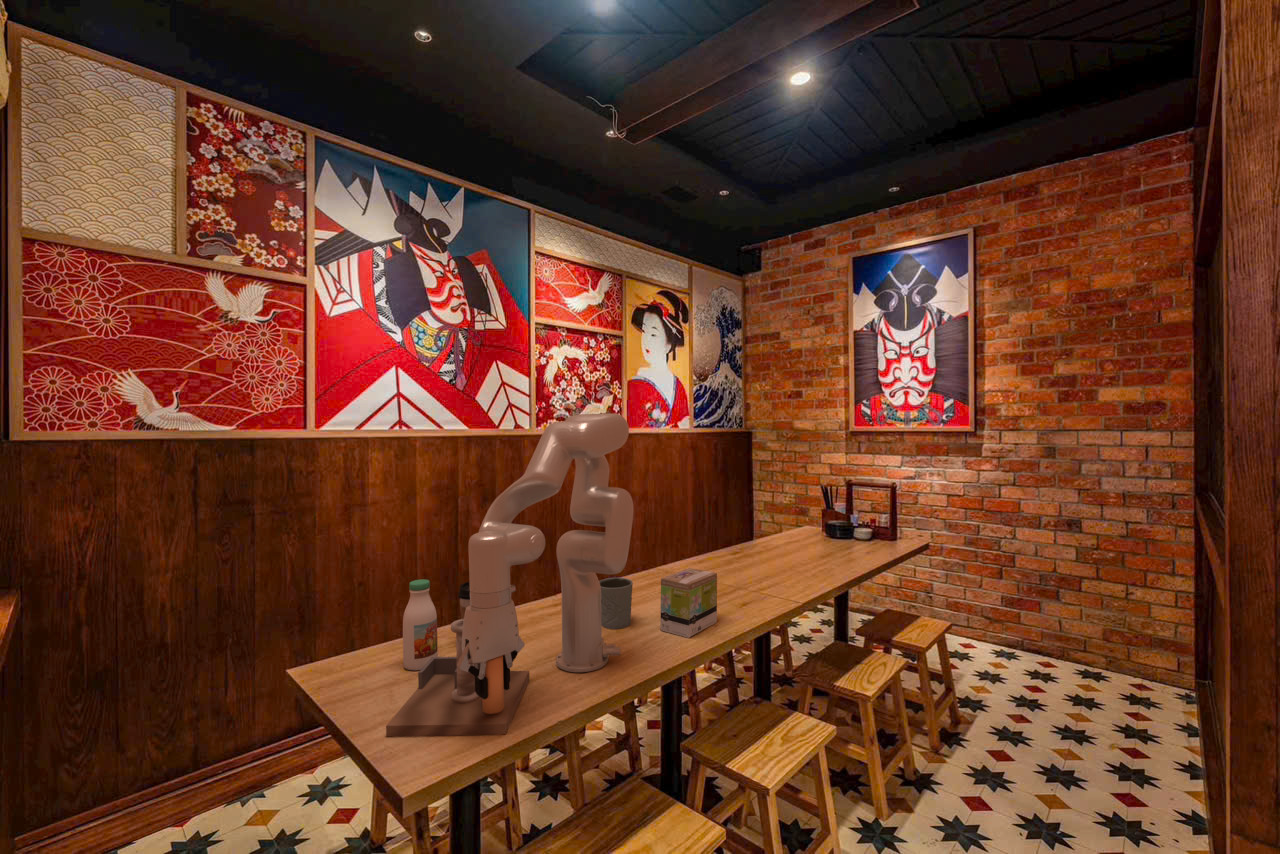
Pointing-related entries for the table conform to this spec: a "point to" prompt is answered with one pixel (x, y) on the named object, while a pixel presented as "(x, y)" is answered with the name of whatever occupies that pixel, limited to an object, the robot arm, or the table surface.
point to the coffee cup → (464, 597)
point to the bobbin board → (455, 704)
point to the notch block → (437, 669)
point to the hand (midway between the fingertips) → (493, 691)
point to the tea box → (688, 602)
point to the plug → (494, 686)
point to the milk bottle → (419, 627)
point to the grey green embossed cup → (616, 602)
